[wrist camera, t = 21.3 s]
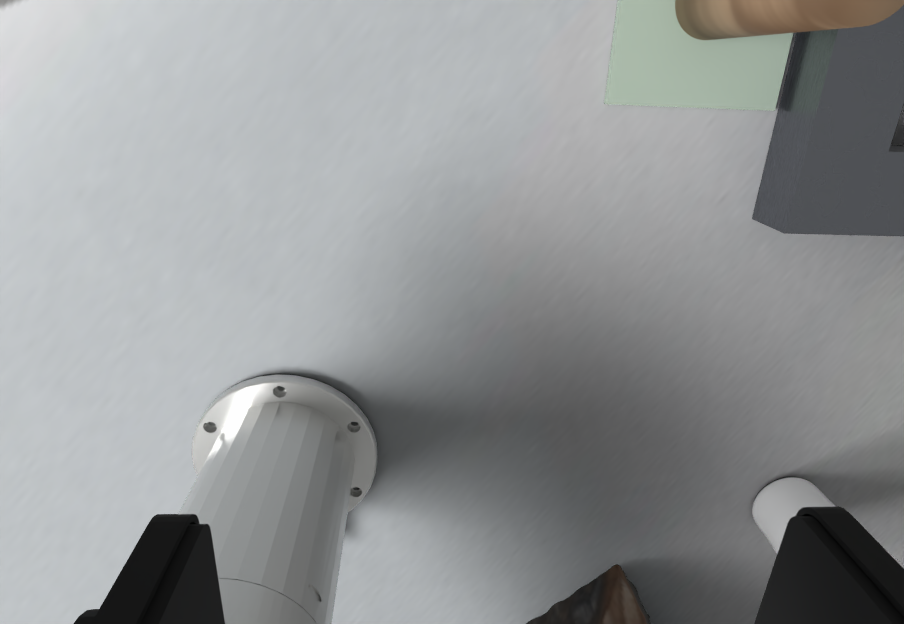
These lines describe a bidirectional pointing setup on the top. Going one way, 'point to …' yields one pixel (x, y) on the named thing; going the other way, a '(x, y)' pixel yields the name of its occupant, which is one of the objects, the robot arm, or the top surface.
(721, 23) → the tan rounded cylinder
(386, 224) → the top surface
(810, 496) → the drinking glass
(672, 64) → the set down mat
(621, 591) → the jagged brown boulder
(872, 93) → the dark grey socket block
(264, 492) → the robot arm
